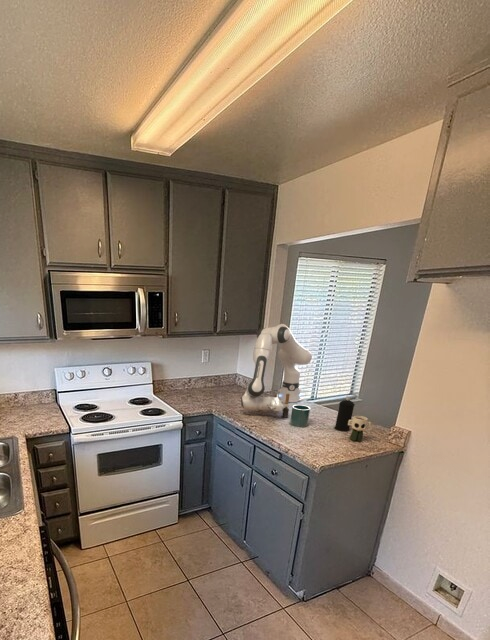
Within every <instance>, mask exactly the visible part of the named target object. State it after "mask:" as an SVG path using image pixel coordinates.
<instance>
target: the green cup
mask: <svg viewBox="0 0 490 640" xmlns="http://www.w3.org/2000/svg"><path fill="white" fill-rule="evenodd" d="M291 407H292V408H291V412H290V413H291V414H290V420H289V421H290V422H289V424H290V426H293V427H296V428H306V427H308V425H309V418H310V414H311V413H310V412H311V407H310V406H307V405H303V404H294V405H292V406H291Z"/></svg>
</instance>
